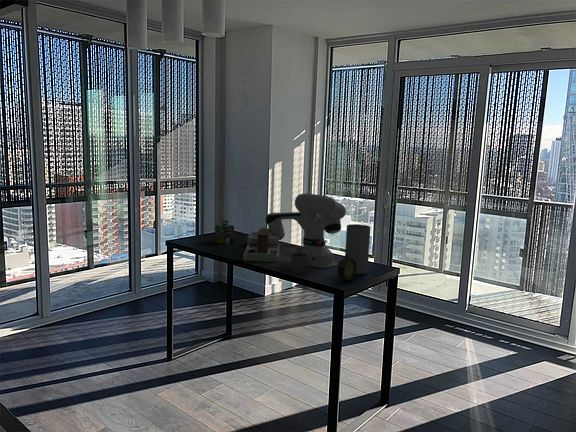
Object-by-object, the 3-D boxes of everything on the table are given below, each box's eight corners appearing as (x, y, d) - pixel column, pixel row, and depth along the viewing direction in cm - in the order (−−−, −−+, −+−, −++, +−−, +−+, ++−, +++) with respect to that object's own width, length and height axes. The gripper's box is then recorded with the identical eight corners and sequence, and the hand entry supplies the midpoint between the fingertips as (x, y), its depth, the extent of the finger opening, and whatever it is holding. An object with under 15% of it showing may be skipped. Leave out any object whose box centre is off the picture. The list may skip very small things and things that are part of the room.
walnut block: (258, 248, 301) (258, 229, 299) (268, 248, 301) (268, 230, 299) (257, 254, 287) (257, 234, 285) (267, 254, 287) (267, 234, 285)
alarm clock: (343, 284, 239) (345, 252, 236) (334, 282, 243) (336, 250, 240) (356, 280, 247) (357, 249, 244) (347, 277, 251) (349, 247, 248)
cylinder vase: (347, 267, 271) (350, 223, 266) (369, 270, 266) (372, 225, 262) (341, 273, 259) (343, 227, 255) (364, 276, 255) (367, 229, 250)
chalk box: (224, 240, 327) (224, 218, 325) (234, 242, 322) (234, 220, 320) (214, 242, 320) (214, 220, 318) (224, 244, 315) (224, 222, 312)
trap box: (248, 246, 312) (248, 239, 312) (279, 247, 312) (279, 240, 312) (243, 260, 277) (243, 253, 276) (278, 261, 277) (278, 254, 276)
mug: (287, 272, 257) (287, 254, 255) (296, 268, 264) (297, 251, 262) (306, 276, 250) (306, 258, 248) (315, 273, 257) (315, 255, 256)
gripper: (279, 242, 314) (279, 247, 301) (248, 242, 314) (246, 247, 301) (279, 233, 313) (279, 238, 300) (248, 232, 313) (246, 237, 299)
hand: (262, 242), depth 300 cm, fingers closed, pressing on walnut block
